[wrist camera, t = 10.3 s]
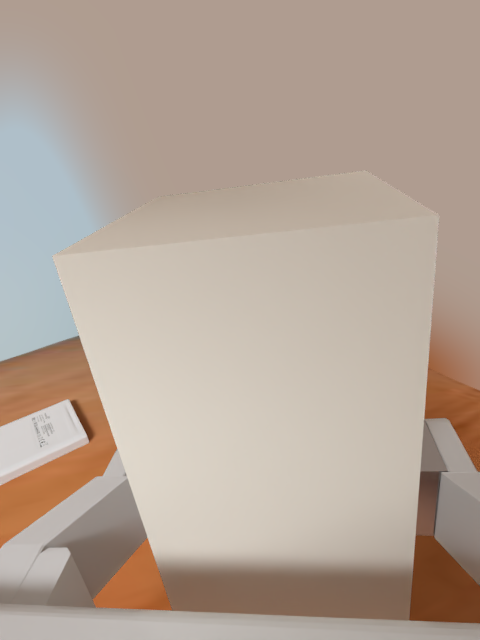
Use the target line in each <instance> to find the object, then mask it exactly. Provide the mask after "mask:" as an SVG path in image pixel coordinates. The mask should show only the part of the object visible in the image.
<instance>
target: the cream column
mask: <svg viewBox="0 0 480 640" xmlns="http://www.w3.org/2000/svg"><path fill="white" fill-rule="evenodd" d="M438 223H439V215H438V214H437V213H435V212H433V211H432V210H430V209H428V208H427V207H425V206H424V205H422V204H420V203H419V202H417V201H416V200H414V199H412V198H411V197H409V196H407V195H406V194H404V193H402V192H401V191H399V190H398V189H396V188H394V187H393V186H391V185H389V184H388V183H386V182H385V181H383V180H381V179H380V178H378V177H376V176H375V175H373V174H371V173H370V172H368V171H361V172H352V173H344V174H336V175H328V176H320V177H312V178H304V179H296V180H288V181H280V182H272V183H264V184H256V185H248V186H240V187H232V188H224V189H217V190H208V191H201V192H193V193H185V194H177V195H169V196H161V197H157V198H155V199H154V200H151V201H150V202H148V203H146V204H144V205H143V206H141V207H139V208H137V209H136V210H134V211H132V212H130V213H128V214H126V215H125V216H123V217H121V218H119V219H118V220H116V221H114V222H112V223H111V224H109V225H107V226H105V227H103V228H101V229H100V230H98V231H96V232H94V233H93V234H91V235H89V236H87V237H85V238H84V239H82V240H80V241H78V242H77V243H75V244H73V245H71V246H69V247H68V248H66V249H64V250H62V251H60V252H59V253H57V254H55V255H53V256H52V257H53V260H54V263H55V266H56V268H57V272H58V275H59V278H60V281H61V283H62V286H63V289H64V292H65V295H66V298H67V301H68V304H69V307H70V310H71V313H72V316H73V319H74V322H75V325H76V328H77V331H78V334H79V337H80V339H81V342H82V345H83V348H84V351H85V354H86V357H87V360H88V363H89V366H90V369H91V372H92V375H93V378H94V381H95V384H96V387H97V390H98V393H99V395H100V398H101V401H102V404H103V407H104V410H105V413H106V416H107V419H108V422H109V425H110V428H111V431H112V434H113V437H114V440H115V443H116V446H117V449H118V451H119V454H120V457H121V460H122V463H123V466H124V469H125V472H126V475H127V478H128V481H129V484H130V487H131V490H132V493H133V496H134V499H135V502H136V504H137V507H138V510H139V513H140V516H141V519H142V522H143V525H144V528H145V531H146V534H147V537H148V540H149V543H150V546H151V549H152V552H153V555H154V558H155V560H156V563H157V566H158V569H159V572H160V575H161V578H162V581H163V584H164V587H165V590H166V593H167V596H168V599H169V602H170V605H171V608H172V611H189V612H213V613H237V614H260V615H284V616H308V617H332V618H358V619H383V620H408V621H409V618H410V604H411V591H412V577H413V563H414V550H415V536H416V522H417V509H418V495H419V482H420V468H421V454H422V441H423V427H424V414H425V400H426V386H427V373H428V359H429V345H430V332H431V317H432V304H433V291H434V276H435V263H436V250H437V236H438Z"/></svg>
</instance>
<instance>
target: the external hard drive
mask: <svg viewBox="0 0 480 640" xmlns="http://www.w3.org/2000/svg"><path fill="white" fill-rule="evenodd" d="M88 443H89V440H88V437H87V434H86V432H85V430H84V428H83V426H82V425H81V423H80V421H79V419H78V417H77V415H76V413H75V411H74V409H73V407H72V405H71V403H70V401H69V399H67V400H64V401H62V402H59V403H57V404H55V405H52V406H50V407H47V408H45V409H43V410H40V411H38V412H35V413H33V414H30V415H28V416H25V417H23V418H20V419H18V420H16V421H13V422H11V423H8V424H6V425H3V426H1V427H0V485H2V484H4V483H6V482H8V481H10V480H12V479H14V478H17V477H19V476H21V475H23V474H25V473H27V472H29V471H31V470H33V469H35V468H37V467H40V466H42V465H44V464H46V463H48V462H50V461H52V460H54V459H56V458H58V457H60V456H62V455H65V454H67V453H69V452H71V451H73V450H75V449H77V448H79V447H81V446H83V445H86V444H88Z"/></svg>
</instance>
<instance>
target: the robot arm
mask: <svg viewBox="0 0 480 640" xmlns="http://www.w3.org/2000/svg"><path fill="white" fill-rule="evenodd" d="M416 535H425V536H434V538H435V539H436V540H437V541H438V542H439V543H440V544H441V545H442V547H443V548H444V549H445V550H446V551H447V552H448V553H449V554H450V555H451V556H452V557H453V558H454V559H455V560H456V561H457V562H458V563H459V565H460V566H461V567H462V568H463V569H464V570H465V571H466V572H467V573H468V574H469V575H470V576H471V577H472V578H473V579H474V580H475V581H476V583H477V584H478V585H479V586H480V472H477V470H476V468H475V466H474V465H473V463H472V461H471V459H470V457H469V455H468V454H467V452H466V450H465V448H464V446H463V445H462V443H461V441H460V439H459V437H458V435H457V434H456V432H455V430H454V428H453V426H452V425H451V423H450V421H449V420H448V419H446V418H437V419H424V427H423V441H422V454H421V468H420V482H419V495H418V509H417V522H416ZM146 538H147V534H146V531H145V528H144V525H143V522H142V519H141V516H140V513H139V510H138V507H137V504H136V502H135V499H134V496H133V493H132V490H131V487H130V484H129V481H128V478H127V475H126V472H125V469H124V466H123V463H122V460H121V457H120V454H119V451H118V449H117V450H116V452H115V454H114V456H113V457H112V459H111V461H110V463H109V465H108V467H107V469H106V471H105V472H104V474H103V476H101V477H95V478H94V479H93V480H91V481H90V482H89V483H87V484H86V485H85V486H83V487H82V488H80V489H79V490H78V491H76V492H75V493H74V494H72V495H71V496H69V497H68V498H67V499H65V500H64V501H63V502H61V503H60V504H58V505H57V506H56V507H54V508H53V509H52V510H50V511H49V512H48V513H46V514H45V515H43V516H42V517H41V518H39V519H38V520H37V521H35V522H34V523H32V524H31V525H30V526H28V527H27V528H26V529H24V530H23V531H22V532H20V533H19V534H17V535H16V536H15V537H13V538H12V539H11V540H9V541H8V542H6V543H5V544H4V545H3V546H2V548H1V549H0V640H480V623H459V622H434V621H408V620H383V619H358V618H332V617H308V616H284V615H260V614H237V613H213V612H189V611H166V610H141V609H117V608H96V606H95V604H94V602H93V599H94V598H95V596H96V595H97V594H98V593H99V592H100V591H101V590H102V588H103V587H104V586H105V585H106V584H107V583H108V582H109V581H110V579H111V578H112V577H113V576H114V575H115V574H116V573H117V571H118V570H119V569H120V568H121V567H122V566H123V565H124V563H125V562H126V561H127V560H128V559H129V558H130V557H131V555H132V554H133V553H134V552H135V551H136V550H137V549H138V547H139V546H140V545H141V544H142V543H143V542H144V541H145V540H146Z"/></svg>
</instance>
